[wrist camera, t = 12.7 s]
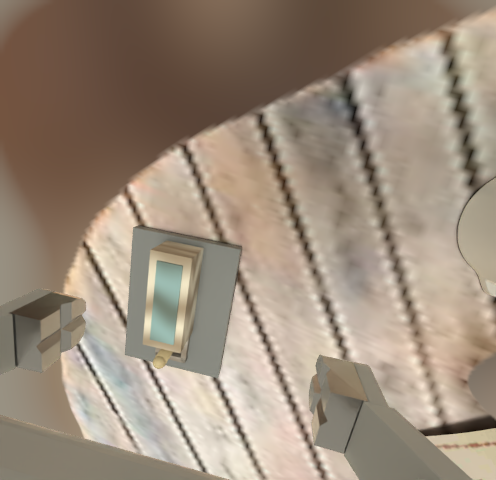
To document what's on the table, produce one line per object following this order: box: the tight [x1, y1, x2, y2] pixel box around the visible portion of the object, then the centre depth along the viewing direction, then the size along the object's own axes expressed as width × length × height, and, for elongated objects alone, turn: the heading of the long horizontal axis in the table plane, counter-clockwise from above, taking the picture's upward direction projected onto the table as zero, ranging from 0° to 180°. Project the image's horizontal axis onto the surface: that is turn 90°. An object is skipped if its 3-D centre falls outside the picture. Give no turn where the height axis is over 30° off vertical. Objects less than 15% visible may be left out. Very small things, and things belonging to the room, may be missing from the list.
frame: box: [143, 241, 204, 363], centre depth 38 cm, size 19×6×5 cm, turn 170°
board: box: [125, 226, 242, 378], centre depth 38 cm, size 16×22×7 cm
